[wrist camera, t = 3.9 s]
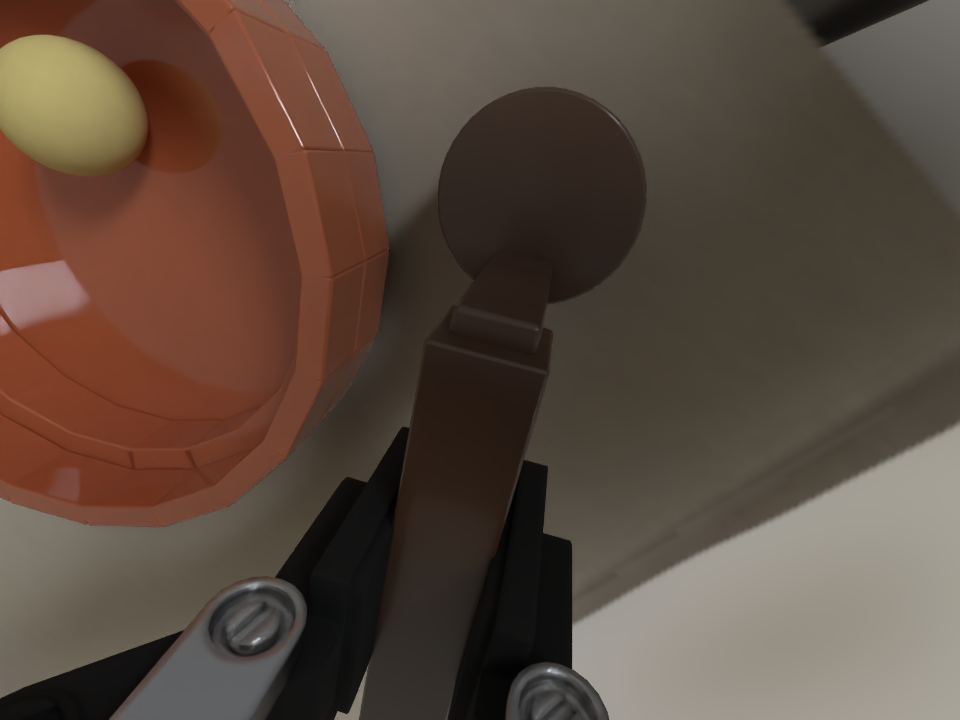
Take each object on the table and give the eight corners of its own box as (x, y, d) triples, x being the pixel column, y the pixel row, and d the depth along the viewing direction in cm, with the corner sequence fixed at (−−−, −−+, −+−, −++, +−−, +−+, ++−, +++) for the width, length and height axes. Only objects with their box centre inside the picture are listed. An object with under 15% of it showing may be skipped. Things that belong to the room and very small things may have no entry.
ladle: (476, 79, 11) (360, -9, 5) (661, 119, 10) (775, 79, 5) (384, 595, 17) (288, 822, 11) (495, 630, 17) (454, 880, 11)
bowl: (435, -34, 11) (370, -133, 8) (361, 495, 17) (304, 590, 14) (-161, -159, 12) (-492, -303, 8) (-35, 385, 18) (-192, 444, 15)
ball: (174, 62, 13) (64, 36, 10) (178, 185, 14) (81, 192, 11) (65, 38, 13) (-72, 4, 10) (78, 161, 14) (-41, 161, 11)
